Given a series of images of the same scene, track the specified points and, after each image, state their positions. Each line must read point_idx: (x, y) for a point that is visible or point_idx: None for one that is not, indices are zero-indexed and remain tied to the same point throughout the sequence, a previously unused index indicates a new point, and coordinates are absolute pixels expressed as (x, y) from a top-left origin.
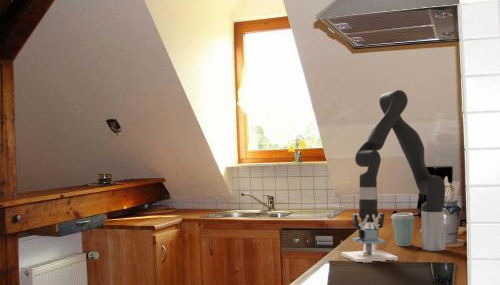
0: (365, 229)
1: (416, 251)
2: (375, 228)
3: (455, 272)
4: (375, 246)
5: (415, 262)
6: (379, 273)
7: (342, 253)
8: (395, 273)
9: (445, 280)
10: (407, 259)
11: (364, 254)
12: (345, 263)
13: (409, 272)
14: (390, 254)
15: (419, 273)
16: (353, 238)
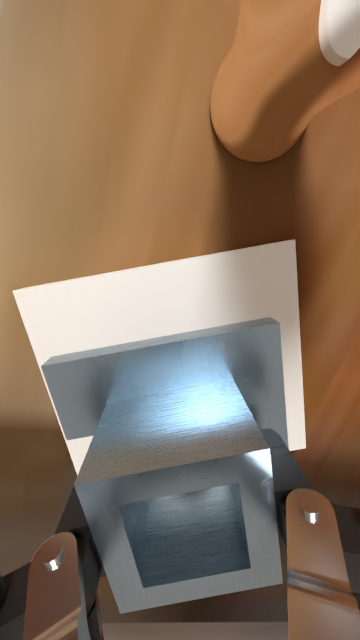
0: (159, 489)
1: None
2: (286, 544)
3: None
4: (306, 124)
5: (352, 473)
6: (139, 622)
7: (22, 310)
8: (194, 622)
9: None
10: (353, 412)
11: None
12: (33, 479)
13: (246, 611)
14: (296, 388)
15: (272, 621)
16: (49, 382)
